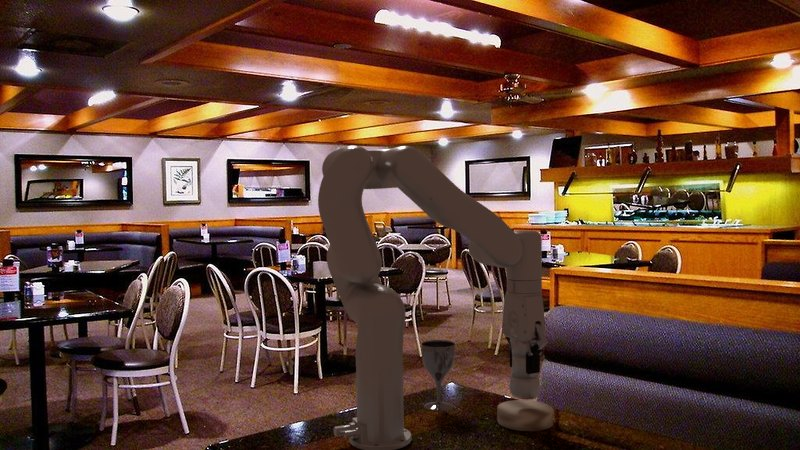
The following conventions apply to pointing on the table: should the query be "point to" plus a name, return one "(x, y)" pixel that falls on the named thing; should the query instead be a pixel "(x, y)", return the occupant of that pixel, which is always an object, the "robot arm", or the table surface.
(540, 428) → the pedestal
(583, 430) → the table surface
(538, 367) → the robot arm
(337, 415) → the table surface
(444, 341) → the wine glass
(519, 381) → the plastic bottle
